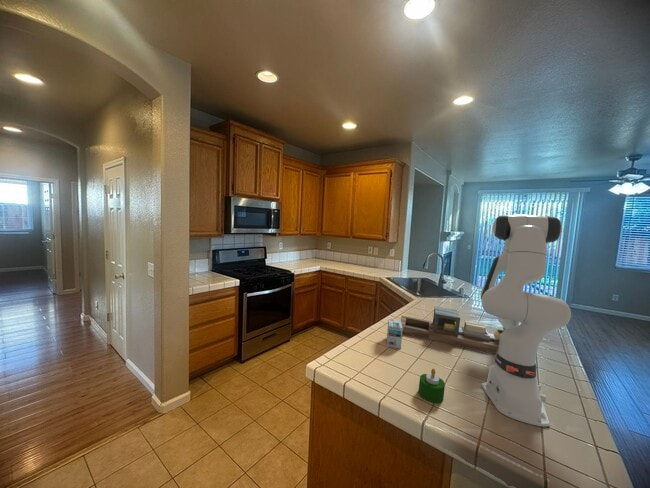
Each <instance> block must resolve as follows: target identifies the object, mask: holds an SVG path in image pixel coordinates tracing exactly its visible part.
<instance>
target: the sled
mask: <svg viewBox="0 0 650 488" xmlns="http://www.w3.org/2000/svg"><path fill="white" fill-rule="evenodd" d="M455 326H456V321H450V320H445V319H444V324H442V327H443V330H445V331H450V332H455ZM461 327H462V328H459V333H460V334H464V336H469V337H474V338H479V339H484V340H489V341H490V340H495V341H500V335H501V333H502V332H503V329H497V328H495V329H494V334H490V333H491V332H489V331H488V330H487V329H486V332H485V334H480V333H475V332H470V331H466V330H465V327H464V324H463V325H461ZM488 332H489V333H488Z"/></svg>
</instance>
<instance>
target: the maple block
mask: <svg viewBox="0 0 650 488" xmlns="http://www.w3.org/2000/svg"><path fill="white" fill-rule="evenodd" d="M463 325H464V327H465V330H466V331H470V332H475V333H480V334H485V332H486V330H487V328H486V326H485V324H484V323H479V322H474V321H468V320H464V324H463Z"/></svg>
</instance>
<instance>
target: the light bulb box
mask: <svg viewBox="0 0 650 488" xmlns="http://www.w3.org/2000/svg"><path fill="white" fill-rule="evenodd" d="M386 331H387V332H386V346H387V347H388V348H392V349H400V350H401V349H402V341H403V340H402V339H403V333H402V332H403V327H402V324H401V319H400V320H399V319H394V318H388V321H387V330H386Z"/></svg>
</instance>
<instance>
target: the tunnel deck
mask: <svg viewBox="0 0 650 488" xmlns="http://www.w3.org/2000/svg"><path fill="white" fill-rule="evenodd" d="M432 317H433V319H432V321H431V320H426V319H422V318H415V317H412V316H407V315H401V316H400V320H401V324H402V327H403V332H402V335H403V334H404V335H408V336H412V337H418V338H422V339H427V340H430V341H436V342H440V343H444V344H445V343H446V344H450V345H454V346H458V347H463V348H467V349H471V350H477V351H482V352H485V353H491V354H495V355H496V353H497V351H498V348H499V341H495V340H490V341H489V340H484V339H479V338H474V337H469V336H464V334H460V333H459V328H462V326H460V324H461V323H460V322H461V316H460V314H459V311H458V310H456V309H452V308H446V307H440V306H434V309H433V316H432ZM444 319H445V320H450V321H456V326H455V332H450V331H445V330H443V327H442V324H444ZM488 333H490V334H494V333H495V332H494V333H493V332H489V331H488Z"/></svg>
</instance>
